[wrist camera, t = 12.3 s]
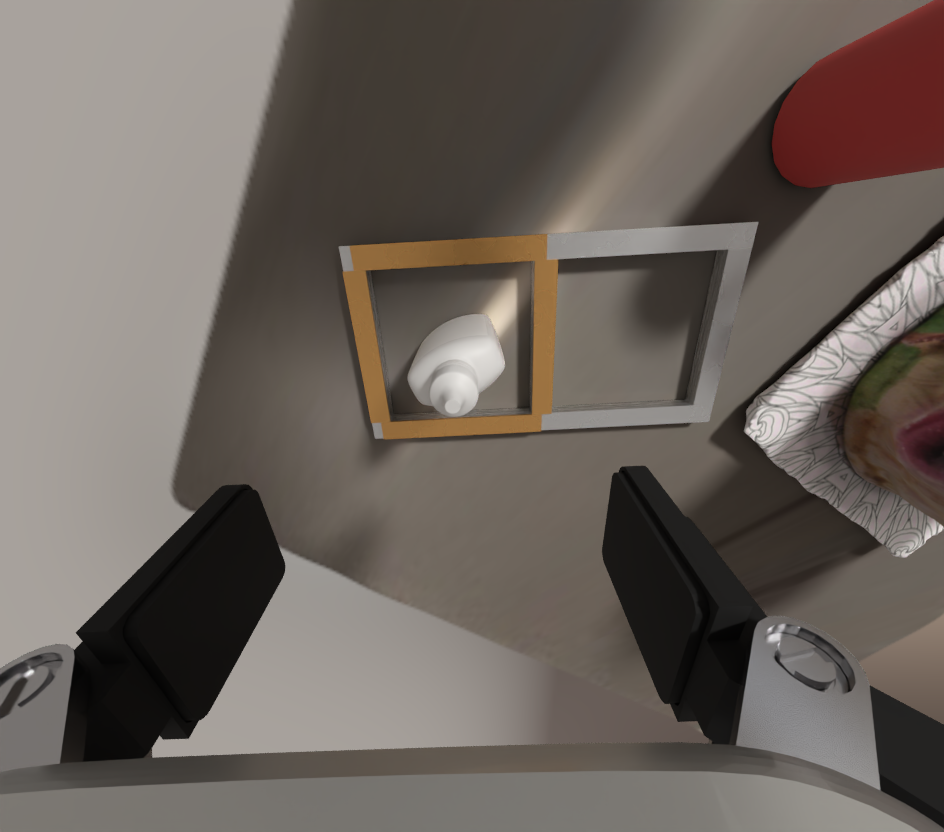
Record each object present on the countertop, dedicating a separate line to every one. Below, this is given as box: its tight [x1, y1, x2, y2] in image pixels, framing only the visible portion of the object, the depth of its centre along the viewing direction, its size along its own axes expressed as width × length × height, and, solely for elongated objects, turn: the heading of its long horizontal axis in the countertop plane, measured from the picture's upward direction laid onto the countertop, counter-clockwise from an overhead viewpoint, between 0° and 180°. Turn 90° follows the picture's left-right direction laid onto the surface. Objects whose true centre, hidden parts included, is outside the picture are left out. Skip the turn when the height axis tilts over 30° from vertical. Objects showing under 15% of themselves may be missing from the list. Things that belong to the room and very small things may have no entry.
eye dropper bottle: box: [407, 314, 505, 417], centre depth 22 cm, size 4×6×12 cm
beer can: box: [772, 0, 944, 188], centre depth 17 cm, size 7×7×12 cm
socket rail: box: [339, 222, 758, 439], centre depth 27 cm, size 14×26×1 cm, turn 93°
